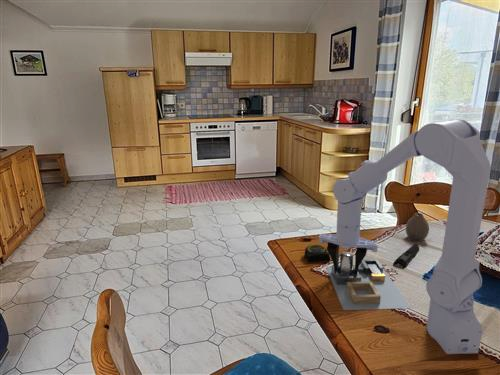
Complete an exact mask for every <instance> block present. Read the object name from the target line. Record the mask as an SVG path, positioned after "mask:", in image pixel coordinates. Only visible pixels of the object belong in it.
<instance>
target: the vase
mask: <svg viewBox="0 0 500 375" xmlns="http://www.w3.org/2000/svg"><path fill="white" fill-rule="evenodd" d="M429 232H430V225H429V223H428V221H427V220H426V218H425V216H424V214H423V213H421V212H415V213H414V214H413V216H412V217H410V218H409V219H408V220H407V222H406V224H405V233H406V235H407V238H408V239H410V240H412V241H417V242H421V241H423V240H425V239H426V238H427V237H428V235H429Z"/></svg>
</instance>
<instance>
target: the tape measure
mask: <svg viewBox="0 0 500 375" xmlns="http://www.w3.org/2000/svg"><path fill="white" fill-rule="evenodd" d="M304 259H305V260H306V262H307V263H311V264H312V263H320V262H322V263H324V262H330V261H331V256H330V254H329V253H328V251H327V247H325V246H323V245H320V244H311V245H308V246H306V247H305V249H304Z"/></svg>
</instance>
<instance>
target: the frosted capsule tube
mask: <svg viewBox="0 0 500 375" xmlns="http://www.w3.org/2000/svg"><path fill="white" fill-rule="evenodd" d="M339 257H340V260H339V265H340V276H352V269H353V265H354V263H353V262H354V254H353V253H352V252H349V251H342V252H340V256H339Z"/></svg>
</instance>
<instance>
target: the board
mask: <svg viewBox="0 0 500 375" xmlns="http://www.w3.org/2000/svg"><path fill="white" fill-rule="evenodd" d="M359 267H361V266H359ZM325 268H326V271H327V273H328V275H329V278H330V280H331V283H332V285H333V288H334V290H335V294H336V295H337V297H338V301H339V302H340V306H341V308H342V311H357V310H358V311H360V310H361V311H362V310H363V311H364V310H393V309H394V310H395V309H399V310H400V309H412V307H411V306H410V304H409V303H408V301H407V300H406V299H405V297H404V296H403V294H402V293H401V291H400V290H399V288H398V287H397V286H396V284H395V283H394V282H393V281H392V279H391V278H390V276H389V275H388V273H387V271H385V269H384V268H383V273H384V275H385V281H379V282H372V283H373V284H374V286H375V288H376V289H377V291H378V293H379V294H380V296H381V299H380V304H353V302H352V300H351V298H350V295H349V293H348V291H347V285H337V284H336V282H335V279H334V277H333V275H332V272H331V271H332V266H325ZM338 274H339V276H340V273H338ZM359 274H360V276H361V282H364V281H372V280H371V275H370V274H369V275H365V273H359ZM352 276H353V274H352ZM355 293H356V295H371V293H370V291H369V290H356V291H355Z"/></svg>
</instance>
